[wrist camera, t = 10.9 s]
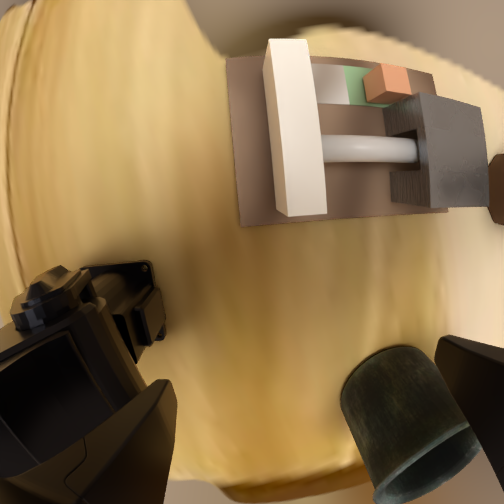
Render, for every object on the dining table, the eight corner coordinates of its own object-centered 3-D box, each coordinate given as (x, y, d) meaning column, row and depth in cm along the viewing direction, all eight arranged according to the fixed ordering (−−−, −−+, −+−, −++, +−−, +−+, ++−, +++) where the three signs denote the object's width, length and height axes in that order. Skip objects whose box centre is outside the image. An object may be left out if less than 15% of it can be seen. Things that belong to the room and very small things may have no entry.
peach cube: (367, 102, 17) (386, 90, 14) (362, 77, 16) (380, 63, 13) (390, 104, 17) (411, 94, 14) (386, 80, 16) (405, 67, 13)
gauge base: (240, 225, 20) (240, 227, 19) (226, 63, 17) (225, 57, 16) (441, 210, 20) (448, 212, 19) (425, 77, 17) (432, 74, 16)
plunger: (276, 209, 18) (287, 216, 14) (262, 69, 16) (269, 38, 12) (398, 202, 18) (435, 207, 14) (383, 76, 16) (414, 55, 12)
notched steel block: (390, 201, 19) (430, 208, 14) (382, 108, 17) (418, 91, 12) (447, 200, 19) (489, 206, 14) (440, 117, 17) (480, 107, 12)
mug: (386, 320, 22) (467, 405, 10) (455, 368, 24) (513, 426, 13) (311, 407, 24) (342, 508, 12) (396, 433, 26) (434, 500, 15)
